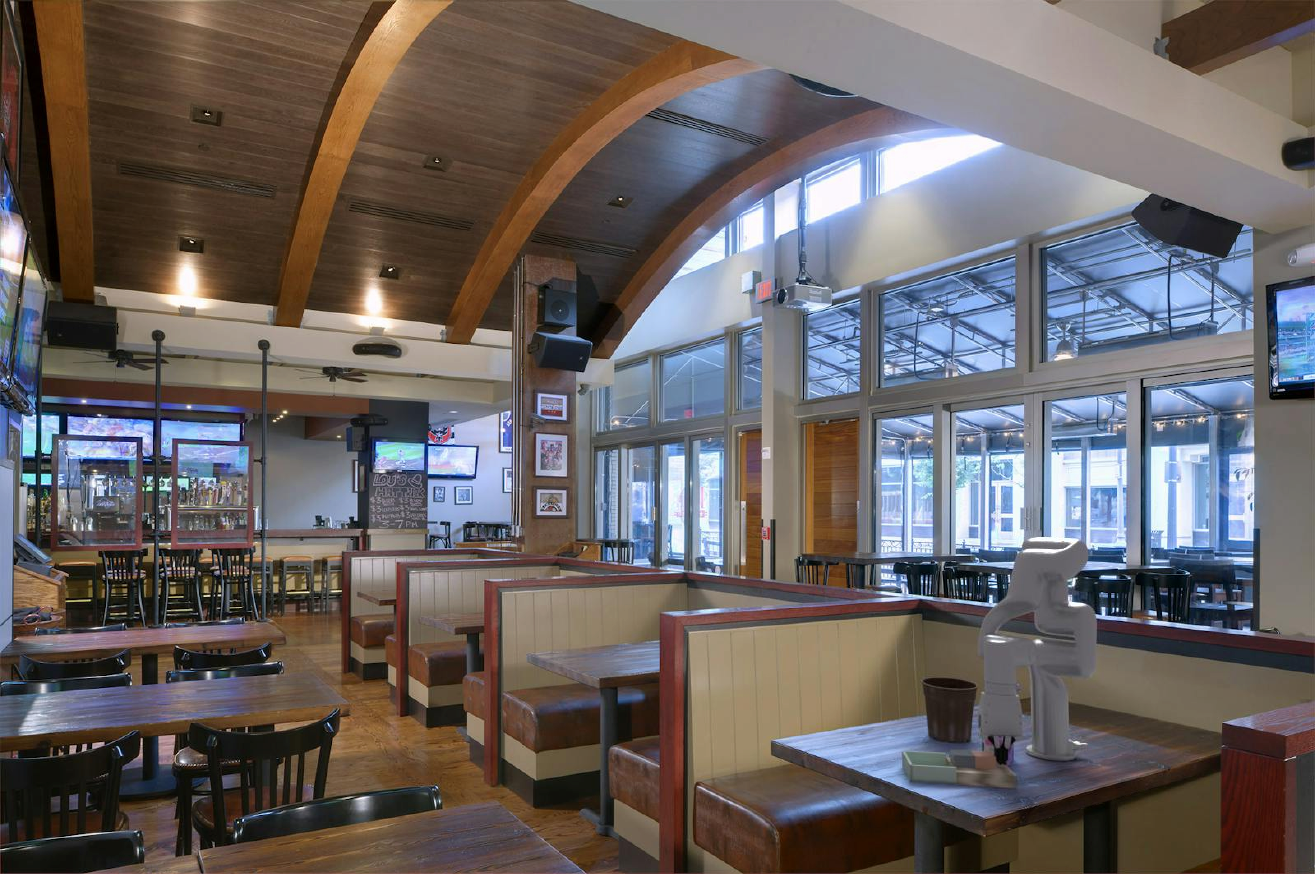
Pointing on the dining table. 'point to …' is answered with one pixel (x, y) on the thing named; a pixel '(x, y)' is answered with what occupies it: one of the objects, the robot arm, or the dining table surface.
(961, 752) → the tile
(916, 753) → the tray
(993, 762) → the tile
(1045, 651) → the robot arm
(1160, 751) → the dining table surface
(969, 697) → the plant pot
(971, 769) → the tan wooden slab
